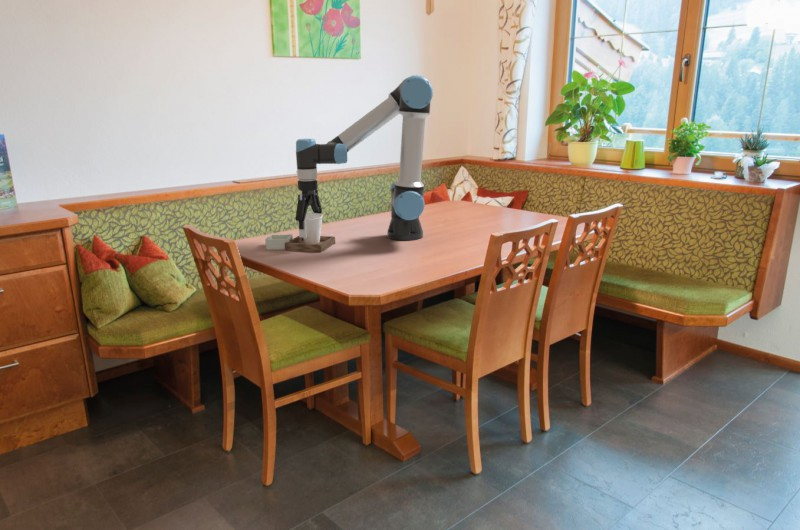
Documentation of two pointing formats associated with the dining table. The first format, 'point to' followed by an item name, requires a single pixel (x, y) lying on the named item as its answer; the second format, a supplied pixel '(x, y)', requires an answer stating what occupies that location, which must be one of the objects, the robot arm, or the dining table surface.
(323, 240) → the brown square tray
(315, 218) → the cup
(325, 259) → the dining table surface
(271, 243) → the small crate
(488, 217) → the dining table surface
